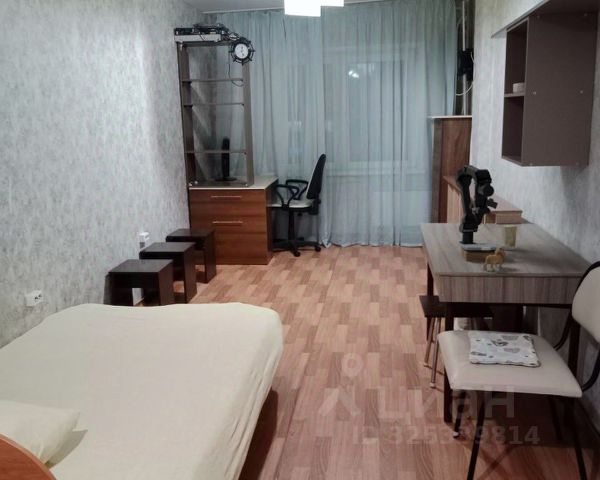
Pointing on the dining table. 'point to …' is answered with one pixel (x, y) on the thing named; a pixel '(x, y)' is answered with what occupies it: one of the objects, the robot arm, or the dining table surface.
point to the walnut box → (477, 254)
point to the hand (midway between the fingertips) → (479, 224)
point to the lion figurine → (495, 258)
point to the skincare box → (508, 236)
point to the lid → (482, 247)
